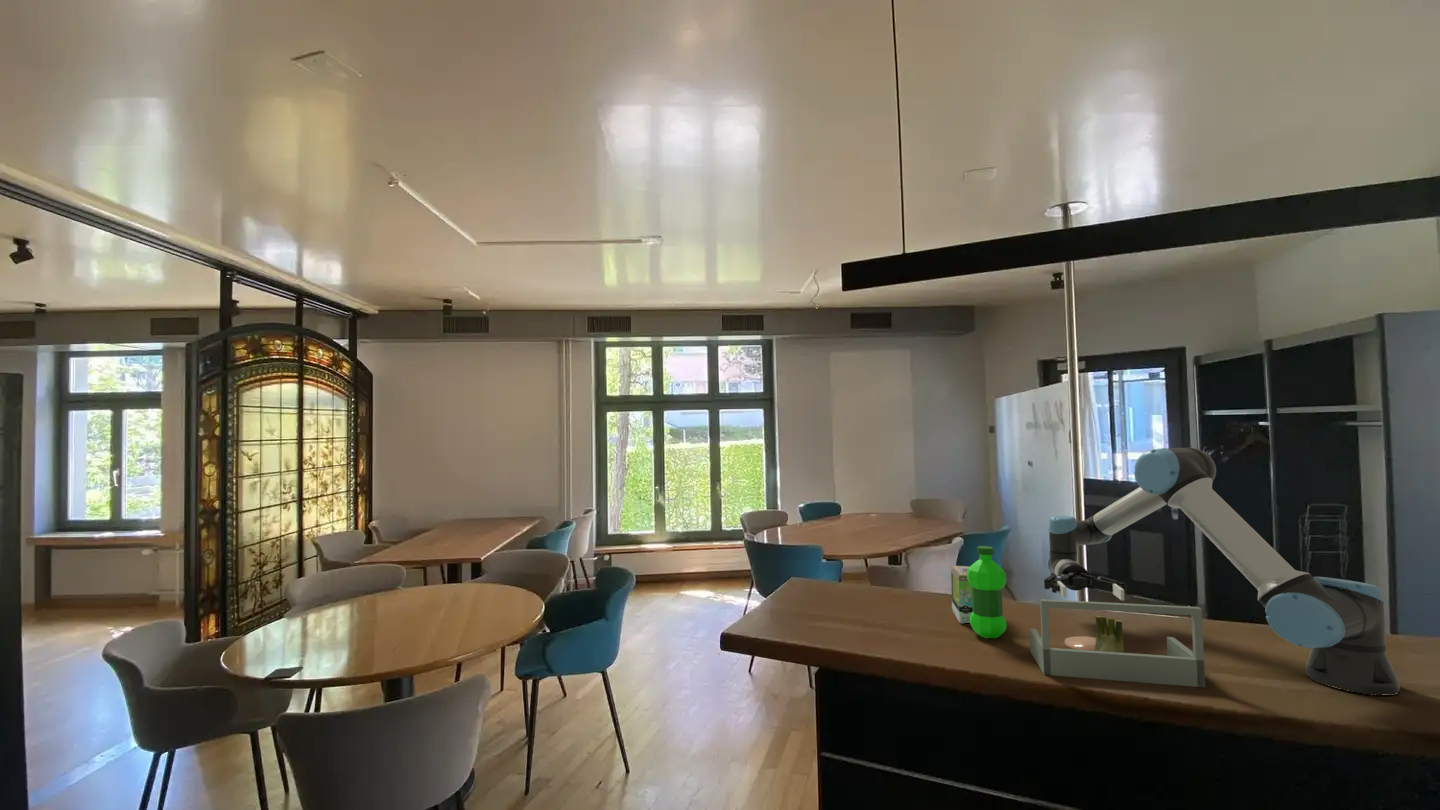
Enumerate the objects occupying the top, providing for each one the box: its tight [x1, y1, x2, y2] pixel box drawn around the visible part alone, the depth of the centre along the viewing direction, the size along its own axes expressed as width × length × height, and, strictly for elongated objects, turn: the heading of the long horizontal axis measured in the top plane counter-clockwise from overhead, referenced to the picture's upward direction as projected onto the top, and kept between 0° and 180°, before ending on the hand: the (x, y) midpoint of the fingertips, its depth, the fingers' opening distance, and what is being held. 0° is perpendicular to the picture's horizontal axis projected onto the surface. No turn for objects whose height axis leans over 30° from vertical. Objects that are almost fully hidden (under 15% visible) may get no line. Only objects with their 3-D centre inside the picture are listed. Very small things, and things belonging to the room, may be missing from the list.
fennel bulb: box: [1095, 615, 1125, 653], centre depth 157 cm, size 6×5×12 cm
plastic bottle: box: [967, 545, 1008, 639], centre depth 181 cm, size 10×10×25 cm
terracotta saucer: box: [1064, 635, 1096, 651], centre depth 170 cm, size 13×13×1 cm
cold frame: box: [1029, 598, 1206, 688], centre depth 155 cm, size 16×33×18 cm, turn 74°
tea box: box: [950, 565, 973, 624], centre depth 198 cm, size 15×10×15 cm, turn 168°
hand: (1093, 593), depth 167 cm, fingers open, 13 cm apart
